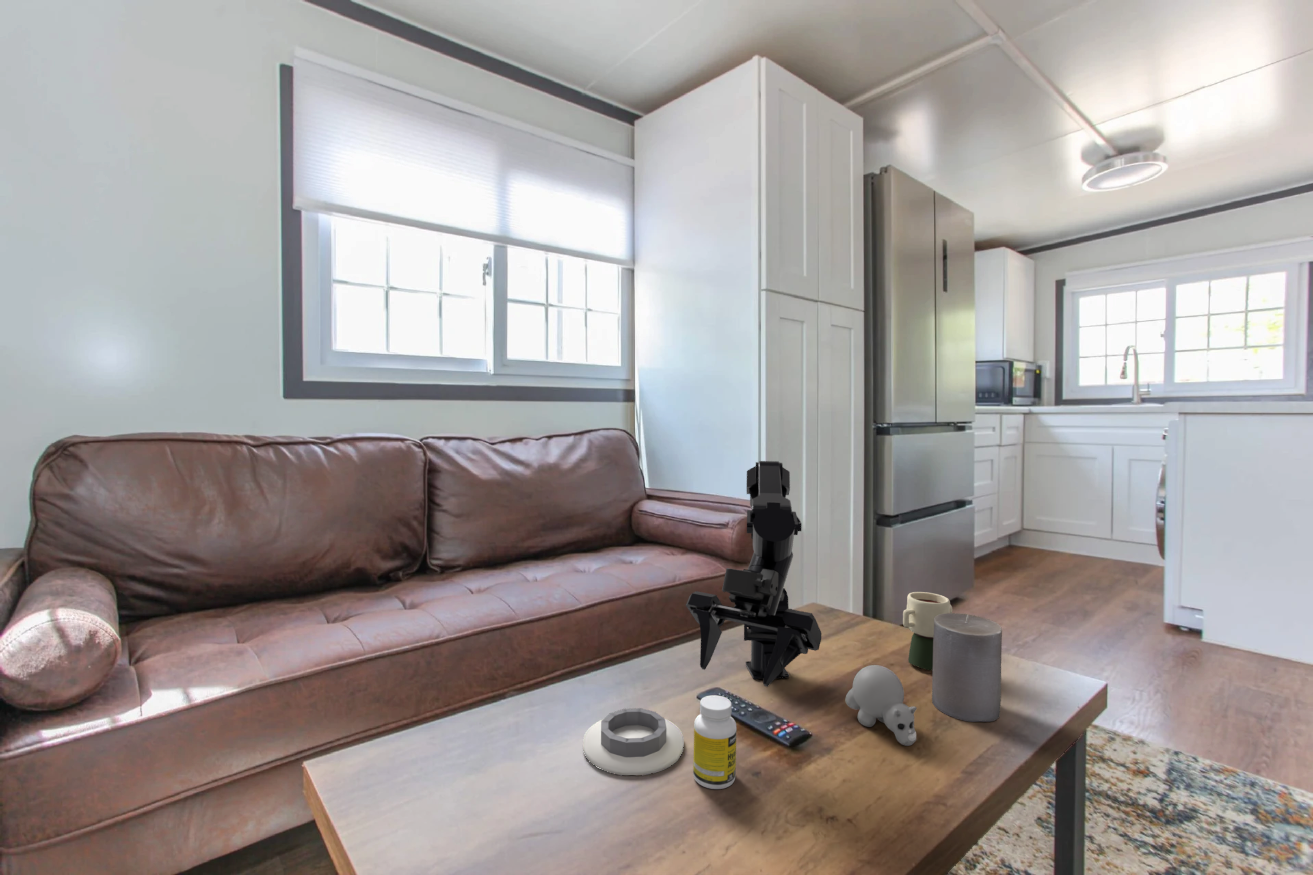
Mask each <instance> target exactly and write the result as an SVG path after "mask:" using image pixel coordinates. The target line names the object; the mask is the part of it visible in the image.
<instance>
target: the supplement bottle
mask: <svg viewBox="0 0 1313 875" xmlns="http://www.w3.org/2000/svg"><path fill="white" fill-rule="evenodd" d="M732 706H733V704H732V702H731V700H730V699H728V698H727V697H725V696H722V695H715V694H713V695H706V696H703V697H702V698H700V702H699V714H698V715H697V716H696V718H695V719H694V722H693V724H694V726H693V762H692V766H693V767H692V768H693V769H692V770H693V772H692V773H693V774H692V775H693V779H694V780H695V782H696V783H698V784H699V785H700V786H702V787H704V788H707V789H711V790H721V789H722V790H723V789H726V788H729V787H730V786H731V785H733V783H734V782H735V780H736V773H737V772H736V767H737V730H738V729H737V723H736V720H735V719H734V718H733V717H732V713H733V712H732Z"/></svg>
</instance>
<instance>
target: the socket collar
mask: <svg viewBox="0 0 1313 875" xmlns="http://www.w3.org/2000/svg"><path fill="white" fill-rule="evenodd" d="M582 739H583V740H582V751H584V752H583V754H584V753H585V755H586V757H585V759H586V758H587V759H588V760H589V761H590V762H591V763H592V764H594V765H595V766H597V767H599V768H601V769H603V770H604V771H603V772H605V771H608V772H611V773H615V774H620V775H619V776H622V775H642V776H648V775H652V774H651V773H653V774H656V773H659V772H662V771H664V770H666V769H669V768H670V767H672V766H673V765H674V764H676V763H677V762H678V761H679V760H680V758H681V757H680V756H682V755H683V753H684V748H685V747H684V746H685V745H684V735H683V733H682V730H681V728H679V727H678V726H677V725H676V724H675V723H673V722H672V721H670V720H669V719H667V718H664V717H663V716H662V715H661V714H659V713H657V711H653V710H649V709H646V708H642V707H637V708H636V707H635V708H634V707H632V708H631V707H629V708H628V707H627V708H622V709H618V710H616V711H615V710H614V711H613V712H610V713H608V714H607V715H606V716H605V717H604V718H603V719H600V720H598V721H597V722H595V723H594V724H592V725H591V726H589V728H588V729H587V730H586V731H585V733H584V735H583V738H582ZM683 747H684V748H683ZM682 752H683V753H682ZM681 754H682V755H681ZM585 755H584V756H585ZM587 759H586V760H587ZM588 760H587V761H588ZM589 761H588V762H589ZM590 762H589V763H590ZM591 763H590V764H591ZM592 764H591V765H592ZM671 765H672V766H671ZM595 766H594V767H595ZM608 772H607V773H608ZM611 773H610V774H611ZM615 774H614V775H615Z"/></svg>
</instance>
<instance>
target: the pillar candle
mask: <svg viewBox="0 0 1313 875" xmlns="http://www.w3.org/2000/svg"><path fill="white" fill-rule="evenodd" d="M1002 640H1003V629H1002V626H1001V625H1000V624H999V623H998V622H996V621H993V620H991V619H990V618H986V617H983V616H979V615H975V614H968V613H964V612H963V613H961V612H952V613H945V614H939V615H937V616H936V617H935V618H934V634H933V671H932V678H931V679H932V681H931V682H932V687H931V688H932V690H931V701H932V702H931V703H932V705H933V706H934V707H935V709H937V710H938V711H939V712H941V713H943V715H944V714H945V715H947V716H949V717H951V718H954V719H957V720H961V721H963V722H971V723H976V722H984V723H985V722H990V723H991V722H995V721H996V720H997V719H999V718H1000V715H1001V704H1002V703H1001V702H1002V699H1001V698H1002V652H1003V651H1002V650H1003V649H1002V646H1003V645H1002V644H1003V643H1002Z"/></svg>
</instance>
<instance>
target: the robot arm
mask: <svg viewBox="0 0 1313 875" xmlns="http://www.w3.org/2000/svg"><path fill="white" fill-rule="evenodd" d="M790 474H791V473H790V471H789V470H788V469H787V468H784V466H783V462H780V461H779V460H759V461H755V466H753V467H752V468H749V469H747V471H746V495H749V506H750V507H751V509H747V511H746V516H747V517H746V534H751V536H750V538H751V539H752V550H753V553H752V557H751V560H750V561H749V562H750V563H749V565H748V568H747V569H745V568H744V569H743V570H742V569H741V570H740V569H736V568H735V569H734V568H725V573H724V578H723V584H722V587H721V588H722V589H721V592H723V593H728V594H729V597H728V599H729V600H730V602H731V603H733V604H734V606H729V605H724V604H723V603H722V602H721V600H720V599H719V597H718V595H717V594H712V593H708V592H703V591H697V590H696V591H693V592H692V593H691V594H690V595H689V597H688V599H687V601H686V604H685V607H686V608H687V610H688V611H689V612H690V614H691V616H692V617H693V618H694V620H695V622H696V623H697V624H699V629H700V630H699V631H700V656H699V658H700V659H699V666H700V669H701V670H704V671H705V670H706V669H707V667H708V666H709V664H710V662H711V660H712V657H713V655H714V653H715V650H716V648H717V646H718V643H719V641H720V638H721V635H722V634H723V631H722V630H721V628H720V627H722V626H724V623H725V621H730V622H734V623H738V624H742V625H743V641H744V642H745V641H751V642H750V643H751V644H750V660H749V661H745V666H746V668H747V670H748V672H749V674H750V675H751V677H752V679H754V680H762V683H763V684H762V685H763V686H764V687H766V688H767V687H769V686H770V685H771V684H772V683H773V681H774V680H775V679H776V680H777V679H790V674H789V672H788V671H787V669H786V667H787V666H789V664H790V663H791V662H793V661H794V660H795V659H796V658H797V657H798V656H800V655H801V654H804V655H807V654H808V653H809V650H810V651H815V652H816V651H819V649H820V646H821V642H822V631H821V629H820V626H819V624H818V621H817V619H816V618H815V616H814V614H813V613H812V612H806V611H802V610H796V609H793V608H789V606H790V605H789V596H788V592H787V591H786V588H785V584H786V581H787V577H788V574H789V571H790V567H791V564H792V561H793V558H794V553H793V548H794V546H793V545H794V537H795V536H798V533H799V532H802V522H801V519H800V518H799V517H798V515H797V512H796V511H793V509H792V503H791V500H790V499H788V498H787V496H790V491H791V486H790V485H791V480H790V479H791V477H790Z"/></svg>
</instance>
